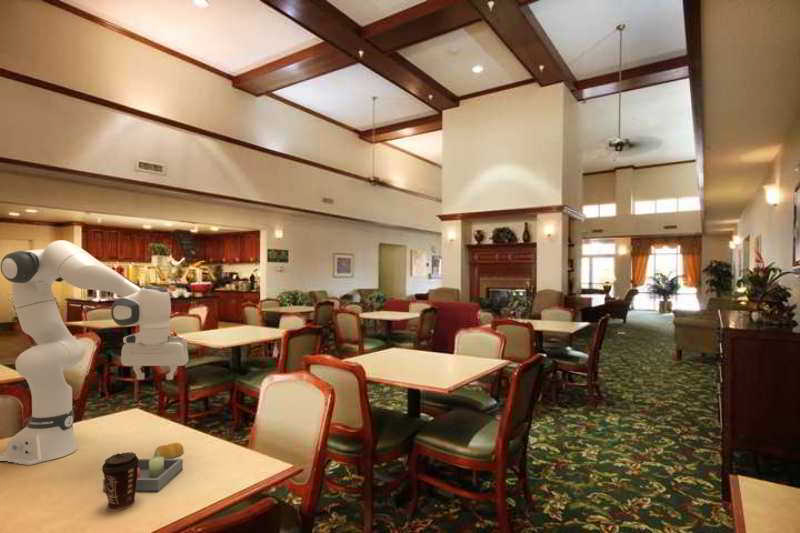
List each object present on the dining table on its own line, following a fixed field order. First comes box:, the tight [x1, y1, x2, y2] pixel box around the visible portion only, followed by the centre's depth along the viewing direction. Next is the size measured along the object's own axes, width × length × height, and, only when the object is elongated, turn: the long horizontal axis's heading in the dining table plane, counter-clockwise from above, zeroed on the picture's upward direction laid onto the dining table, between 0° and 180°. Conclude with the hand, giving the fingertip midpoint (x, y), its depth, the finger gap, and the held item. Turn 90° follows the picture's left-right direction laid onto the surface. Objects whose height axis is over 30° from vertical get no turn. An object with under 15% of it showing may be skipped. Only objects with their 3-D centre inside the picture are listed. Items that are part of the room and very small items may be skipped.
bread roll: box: [153, 442, 184, 459], centre depth 152 cm, size 8×9×4 cm
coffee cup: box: [101, 451, 139, 512], centre depth 120 cm, size 9×8×13 cm
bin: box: [102, 458, 184, 493], centre depth 133 cm, size 16×14×4 cm
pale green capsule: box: [149, 456, 164, 478], centre depth 135 cm, size 4×4×5 cm
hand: (155, 379), depth 141 cm, fingers open, 8 cm apart
